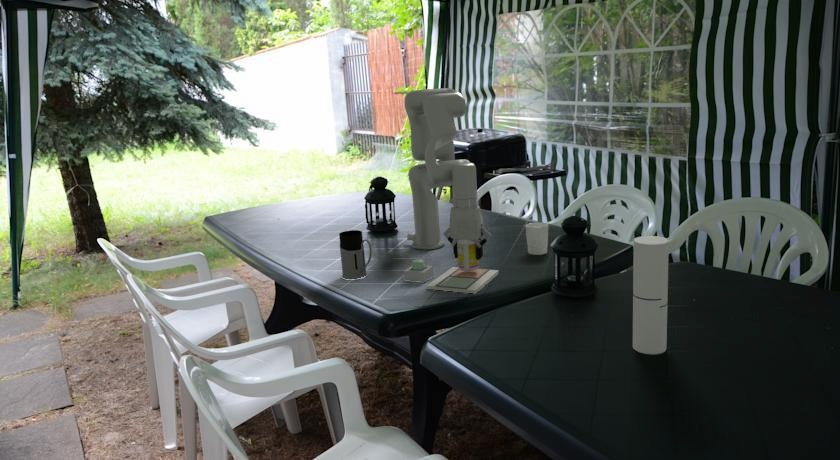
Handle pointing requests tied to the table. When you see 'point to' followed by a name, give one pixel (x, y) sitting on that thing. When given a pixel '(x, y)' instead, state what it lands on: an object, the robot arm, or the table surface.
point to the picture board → (463, 280)
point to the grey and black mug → (353, 254)
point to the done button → (418, 265)
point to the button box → (418, 274)
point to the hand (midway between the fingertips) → (468, 257)
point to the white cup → (537, 238)
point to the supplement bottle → (467, 255)
